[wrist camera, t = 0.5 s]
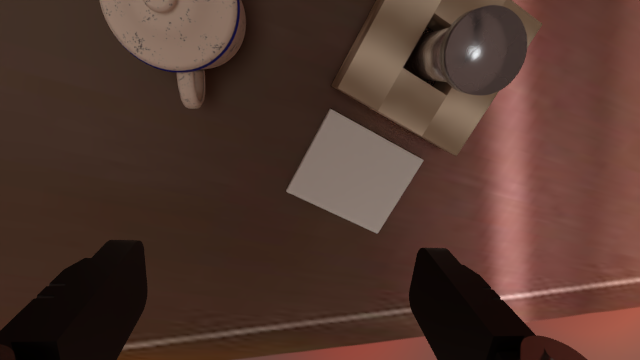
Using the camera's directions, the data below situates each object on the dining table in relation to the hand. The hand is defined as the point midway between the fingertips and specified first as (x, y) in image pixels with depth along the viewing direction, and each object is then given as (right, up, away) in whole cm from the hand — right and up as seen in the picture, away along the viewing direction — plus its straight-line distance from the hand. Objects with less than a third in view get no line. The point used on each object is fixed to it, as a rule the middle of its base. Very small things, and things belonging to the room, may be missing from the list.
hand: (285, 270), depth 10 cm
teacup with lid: (-10, +16, +22) cm, 29 cm away
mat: (+5, +3, +28) cm, 28 cm away
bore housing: (+12, +15, +24) cm, 31 cm away
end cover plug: (+12, +15, +24) cm, 31 cm away
